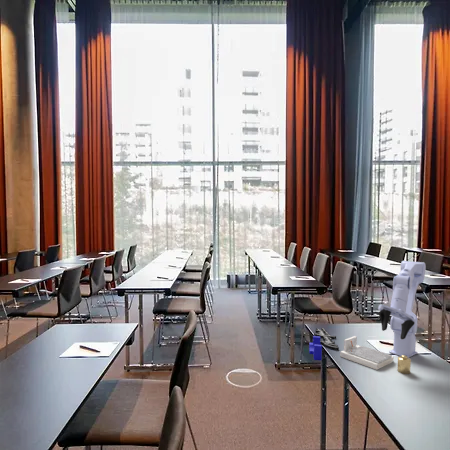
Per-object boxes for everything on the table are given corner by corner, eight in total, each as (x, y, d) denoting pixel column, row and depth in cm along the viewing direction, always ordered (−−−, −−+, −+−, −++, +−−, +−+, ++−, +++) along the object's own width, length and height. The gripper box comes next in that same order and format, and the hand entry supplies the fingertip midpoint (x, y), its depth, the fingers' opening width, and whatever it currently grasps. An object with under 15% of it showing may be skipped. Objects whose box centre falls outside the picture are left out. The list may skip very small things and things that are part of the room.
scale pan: (362, 347, 160) (362, 345, 160) (391, 357, 150) (391, 355, 150) (348, 352, 154) (348, 350, 154) (378, 363, 144) (379, 361, 144)
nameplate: (347, 347, 162) (324, 347, 162) (347, 351, 163) (324, 351, 162) (328, 327, 190) (308, 327, 190) (327, 331, 190) (308, 330, 190)
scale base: (357, 349, 164) (357, 334, 163) (393, 361, 151) (394, 345, 151) (340, 356, 155) (340, 340, 155) (376, 369, 143) (377, 352, 143)
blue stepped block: (309, 349, 163) (309, 335, 163) (319, 350, 163) (320, 336, 162) (310, 359, 152) (310, 345, 151) (321, 361, 151) (322, 346, 151)
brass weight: (400, 368, 145) (401, 352, 145) (412, 372, 142) (413, 356, 142) (395, 371, 142) (395, 355, 142) (406, 375, 139) (407, 359, 139)
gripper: (387, 291, 146) (381, 323, 139) (422, 307, 145) (417, 340, 139) (378, 297, 152) (371, 327, 146) (411, 312, 151) (406, 343, 145)
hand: (393, 334), depth 143 cm, fingers open, 7 cm apart
